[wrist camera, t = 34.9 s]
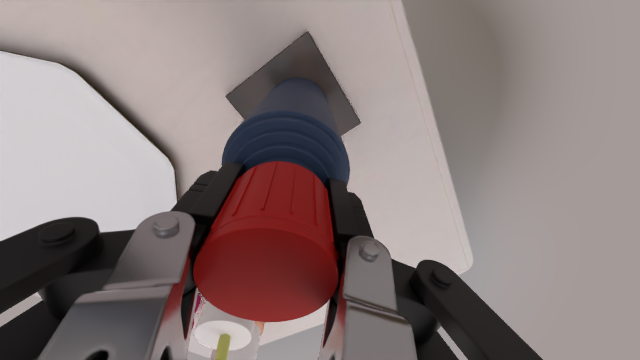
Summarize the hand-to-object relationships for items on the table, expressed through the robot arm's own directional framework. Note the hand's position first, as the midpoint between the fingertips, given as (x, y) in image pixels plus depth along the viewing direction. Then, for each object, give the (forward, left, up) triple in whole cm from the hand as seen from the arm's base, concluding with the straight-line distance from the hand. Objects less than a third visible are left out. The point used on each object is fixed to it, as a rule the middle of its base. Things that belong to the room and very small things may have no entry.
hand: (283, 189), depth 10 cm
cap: (0, 0, +1) cm, 1 cm away
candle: (+20, +14, -16) cm, 29 cm away
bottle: (0, 0, -16) cm, 16 cm away
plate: (+28, -9, -16) cm, 34 cm away
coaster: (0, 0, -16) cm, 16 cm away
